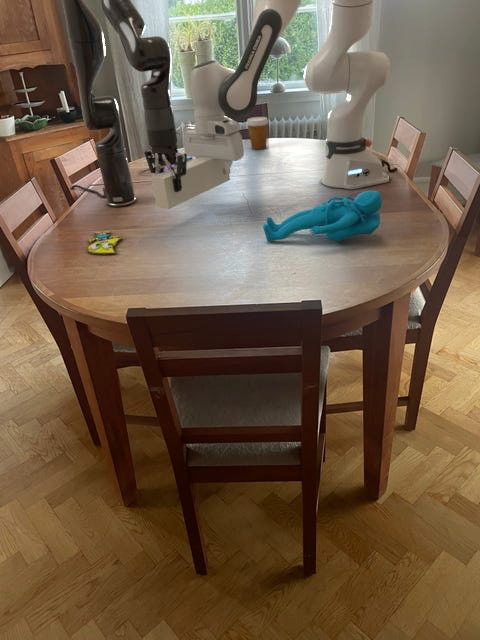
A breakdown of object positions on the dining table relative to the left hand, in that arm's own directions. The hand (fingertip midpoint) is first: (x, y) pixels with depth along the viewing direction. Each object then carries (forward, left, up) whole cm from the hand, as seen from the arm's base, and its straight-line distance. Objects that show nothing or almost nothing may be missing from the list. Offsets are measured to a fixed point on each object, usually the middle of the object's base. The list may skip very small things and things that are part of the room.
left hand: (170, 189), depth 134 cm
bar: (-3, +9, -4) cm, 11 cm away
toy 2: (+37, +22, -12) cm, 44 cm away
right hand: (-4, +19, 0) cm, 19 cm away
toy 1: (-6, -20, -12) cm, 24 cm away
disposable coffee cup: (-52, +76, -12) cm, 93 cm away
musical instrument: (-59, +32, -12) cm, 68 cm away
